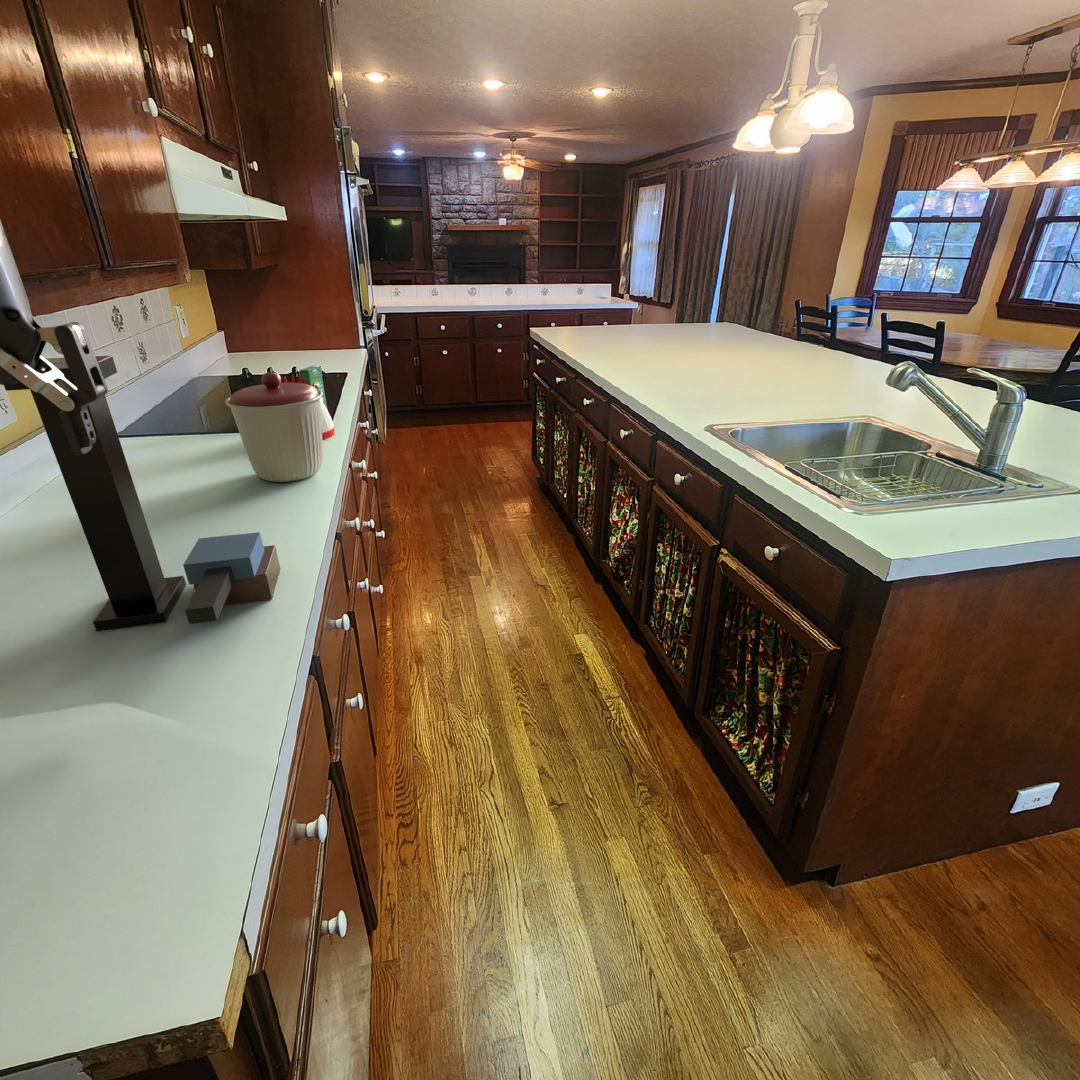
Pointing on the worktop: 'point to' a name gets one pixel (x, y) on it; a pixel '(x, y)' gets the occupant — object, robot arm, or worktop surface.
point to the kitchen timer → (325, 416)
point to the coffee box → (314, 379)
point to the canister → (280, 428)
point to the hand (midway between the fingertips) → (26, 456)
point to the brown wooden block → (256, 581)
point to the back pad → (219, 571)
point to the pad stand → (110, 514)
